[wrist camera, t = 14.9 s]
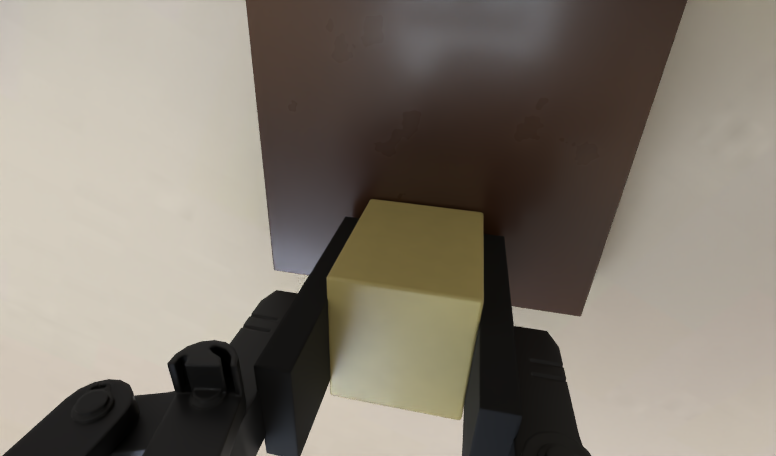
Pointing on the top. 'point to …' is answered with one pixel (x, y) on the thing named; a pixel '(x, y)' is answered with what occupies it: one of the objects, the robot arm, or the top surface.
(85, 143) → the top surface
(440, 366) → the butter
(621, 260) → the top surface
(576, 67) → the lever base
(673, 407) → the top surface
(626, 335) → the top surface
